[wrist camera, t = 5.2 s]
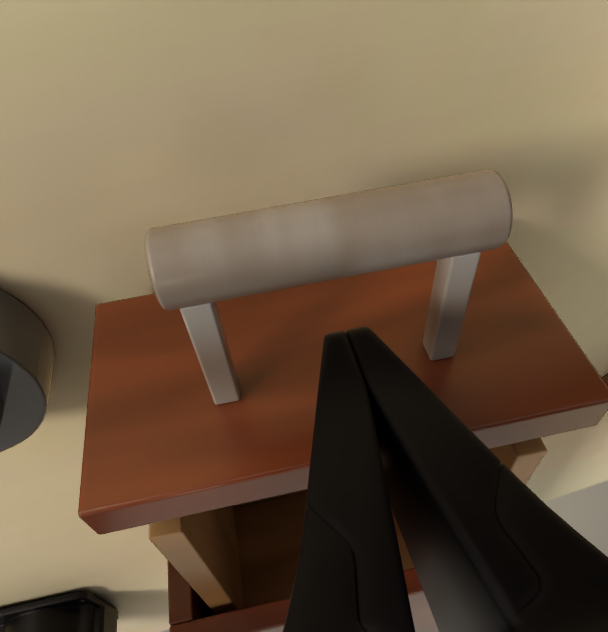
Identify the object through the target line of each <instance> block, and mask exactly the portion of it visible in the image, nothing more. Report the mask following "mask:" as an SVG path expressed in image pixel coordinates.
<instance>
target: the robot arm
mask: <svg viewBox="0 0 608 632" xmlns="http://www.w3.org/2000/svg"><path fill="white" fill-rule="evenodd" d="M391 508H392V509H391ZM392 510H393V513H394V515H395V518H396V521H397V523H398V526H399V528H400V531H401V534H402V536H403V539H404V542H405V544H406V547H407V549H408V552H409V555H410V557H411V560H412V562H413V565H414V568H415V570H416V573H417V575H418V578H419V581H420V583H421V586H422V589H423V591H424V594H425V596H426V599H427V602H428V604H429V607H430V609H431V612H432V615H433V617H434V620H435V622H436V625H437V628H438V630H439V632H608V557H607V556H606V555H605V554H603V553H602V552H601V551H600V550H598V549H597V548H596V547H595V546H594V545H592V544H591V543H590V542H589V541H587V540H586V539H585V538H584V537H583V536H582V535H580V534H579V533H578V532H577V531H576V530H574V529H573V528H572V527H571V526H570V525H569V524H567V523H566V522H565V521H564V520H563V519H562V518H561V517H559V516H558V515H557V514H556V513H555V512H554V511H552V510H551V509H550V508H549V507H548V506H547V505H546V504H545V503H544V502H543V501H542V500H541V499H539V498H538V497H537V496H536V495H535V494H534V493H533V492H532V491H531V490H530V489H529V488H528V487H527V486H526V485H525V484H524V483H523V482H522V481H521V480H520V479H519V478H518V477H517V476H516V475H515V474H514V473H513V472H512V471H511V470H510V469H509V468H508V467H507V466H506V465H505V464H501V460H500V459H499V458H498V457H497V456H496V455H495V454H494V453H493V452H492V451H491V450H490V449H489V448H488V447H487V446H486V445H485V444H484V443H483V442H482V441H481V440H480V439H479V438H478V437H477V436H476V435H475V434H474V433H473V432H472V431H471V430H470V429H469V428H468V427H467V426H466V425H465V424H464V423H463V422H462V421H461V420H460V419H459V418H458V417H457V416H456V415H455V414H454V413H453V412H452V411H451V410H450V409H449V408H448V407H447V406H446V405H445V404H444V403H443V402H442V400H441V399H440V398H439V397H438V396H437V395H436V394H435V393H434V392H433V391H432V390H431V389H430V388H429V387H428V386H427V385H426V384H425V383H424V382H423V381H422V380H421V379H420V378H419V377H418V376H417V375H416V374H415V373H414V372H413V371H412V370H411V369H410V368H409V367H408V366H407V365H406V364H405V363H404V362H403V361H402V360H401V359H400V358H399V357H398V356H397V355H396V354H395V353H394V352H393V351H392V350H391V349H390V348H389V347H388V346H387V345H386V344H385V343H384V342H383V341H382V340H381V339H380V338H379V337H378V336H377V335H376V334H375V333H374V332H373V331H372V330H371V329H370V328H369V327H366V326H363V327H358V328H353V329H349V330H347V332H345V331H338V332H333V333H328V334H325V336H324V339H323V347H322V357H321V366H320V375H319V384H318V394H317V403H316V412H315V422H314V431H313V440H312V449H311V459H310V468H309V477H308V486H307V496H306V509H305V512H304V521H303V531H302V538H301V545H300V552H299V559H298V565H297V570H296V575H295V580H294V584H293V589H292V594H291V599H290V603H289V607H288V611H287V616H286V620H285V624H284V628H283V632H415V627H414V622H413V617H412V612H411V607H410V601H409V596H408V591H407V586H406V581H405V576H404V571H403V566H402V561H401V555H400V550H399V545H398V540H397V535H396V530H395V525H394V520H393V515H392ZM117 619H118V611H117V610H116V609H114V608H113V607H111V606H110V605H108V604H106V603H105V602H103V601H102V600H100V599H99V598H97V597H96V596H94V595H93V594H91V593H90V592H88V591H78V592H74V593H69V594H65V595H61V596H56V597H52V598H48V599H43V600H39V601H34V602H30V603H26V604H21V605H17V606H13V607H8V608H4V609H0V632H117Z"/></svg>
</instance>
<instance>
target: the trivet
mask: <svg viewBox="0 0 608 632" xmlns="http://www.w3.org/2000/svg"><path fill="white" fill-rule="evenodd" d="M54 355H55V353H54V345H53V342H52V339H51V336H50V334H49V333H48V331H47V329H46V327H45V326H44V324H43V323H42V322H41V321H40V319H39V318H38V317H37V316H36V315H35V314H34V313H33V312H32V311H31V310H30V309H29V308H27V307H26V306H25V305H23V304H22V303H21V302H19V301H18V300H17V299H15V298H14V297H12V296H10V295H9V294H7V293H5V292H3V291H2V290H0V399H1V401H2V405H3V417H2V422H1V426H0V452H2V451H4V450H7V449H9V448H11V447H13V446H15V445H17V444H19V443H21V442H22V441H24V440H25V439H27V438H28V437H29V436H31V435H32V434H33V433H34V432H35V431H36V430H37V429H38V427H39V426H40V424H41V423H42V421H43V420H44V417H45V415H46V412H47V405H48V398H49V391H50V384H51V377H52V371H53V364H54Z"/></svg>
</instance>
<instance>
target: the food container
mask: <svg viewBox="0 0 608 632" xmlns="http://www.w3.org/2000/svg"><path fill="white" fill-rule="evenodd" d="M602 380H603V381H604V383H605V384H606V385H607V387H608V374H607V375H606V376H605V377H603V378H602Z"/></svg>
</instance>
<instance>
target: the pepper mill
mask: <svg viewBox="0 0 608 632" xmlns="http://www.w3.org/2000/svg"><path fill="white" fill-rule="evenodd" d="M2 417H3V405H2V401H1V399H0V426H1V422H2Z"/></svg>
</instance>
